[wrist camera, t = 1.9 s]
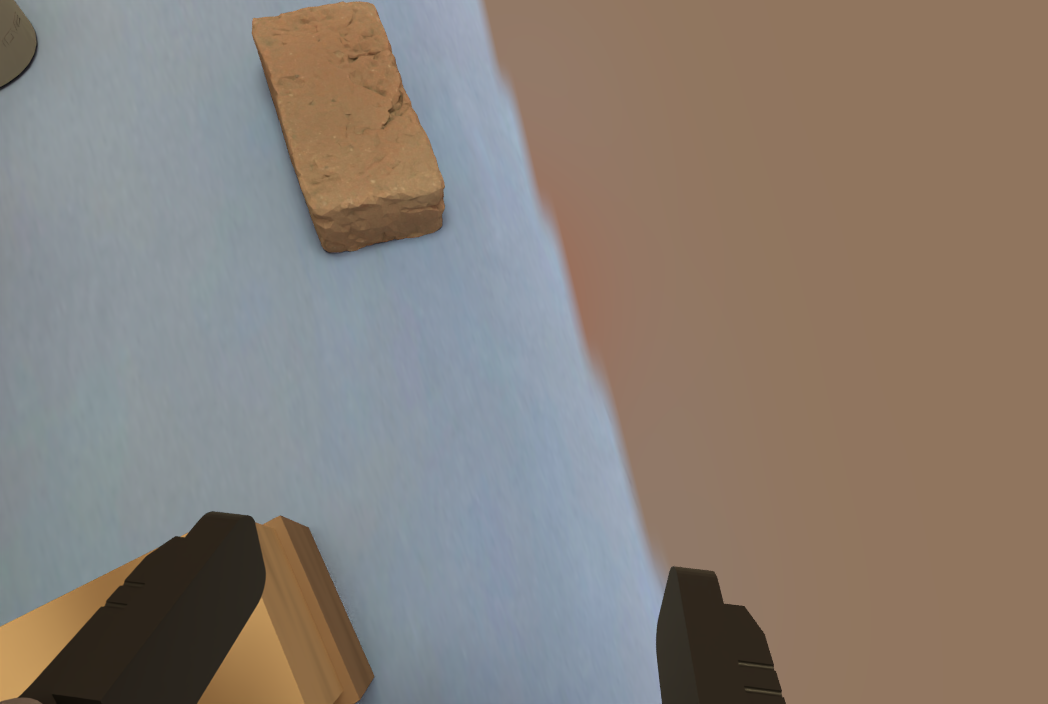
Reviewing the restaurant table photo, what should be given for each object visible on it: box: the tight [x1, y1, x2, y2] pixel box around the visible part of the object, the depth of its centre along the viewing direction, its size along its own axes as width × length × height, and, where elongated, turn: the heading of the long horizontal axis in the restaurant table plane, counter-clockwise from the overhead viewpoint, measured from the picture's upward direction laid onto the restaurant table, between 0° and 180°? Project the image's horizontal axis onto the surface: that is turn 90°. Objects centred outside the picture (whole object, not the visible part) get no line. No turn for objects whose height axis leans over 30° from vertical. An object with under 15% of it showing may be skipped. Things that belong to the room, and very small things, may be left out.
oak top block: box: [0, 523, 343, 704], centre depth 19 cm, size 7×7×6 cm
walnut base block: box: [263, 516, 375, 704], centre depth 25 cm, size 8×8×6 cm
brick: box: [252, 2, 445, 252], centre depth 37 cm, size 17×8×5 cm, turn 22°
